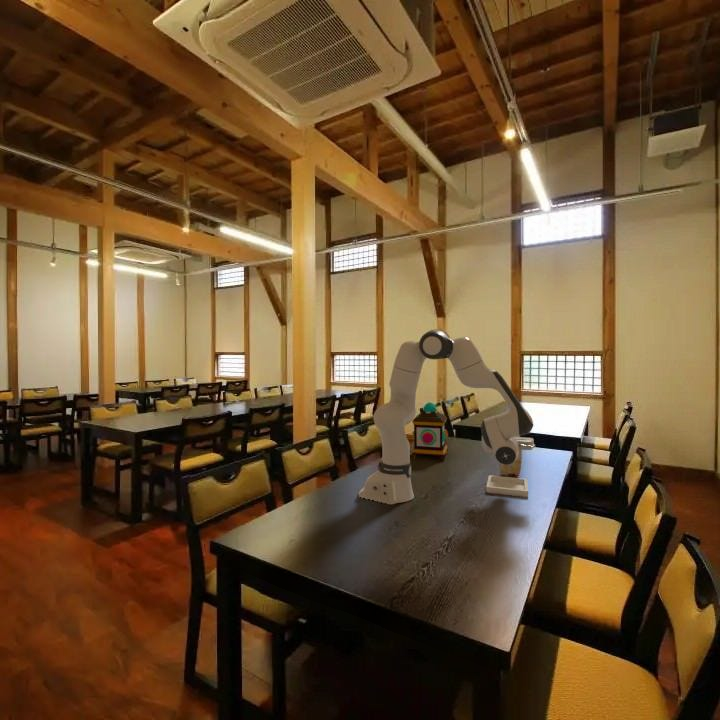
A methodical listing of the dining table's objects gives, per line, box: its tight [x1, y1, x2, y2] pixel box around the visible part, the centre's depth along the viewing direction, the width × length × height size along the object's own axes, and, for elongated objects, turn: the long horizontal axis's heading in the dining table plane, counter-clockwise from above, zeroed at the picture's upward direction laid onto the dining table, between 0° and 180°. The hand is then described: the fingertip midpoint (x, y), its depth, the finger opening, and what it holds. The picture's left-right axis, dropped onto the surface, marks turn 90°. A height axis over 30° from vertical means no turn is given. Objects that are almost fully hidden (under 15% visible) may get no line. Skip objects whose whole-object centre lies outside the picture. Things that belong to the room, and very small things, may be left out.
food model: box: [499, 436, 523, 478], centre depth 188 cm, size 10×7×20 cm
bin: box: [485, 474, 529, 498], centre depth 172 cm, size 16×16×2 cm
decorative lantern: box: [411, 401, 449, 462], centre depth 224 cm, size 20×20×30 cm
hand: (507, 438), depth 172 cm, fingers closed on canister, 5 cm apart
